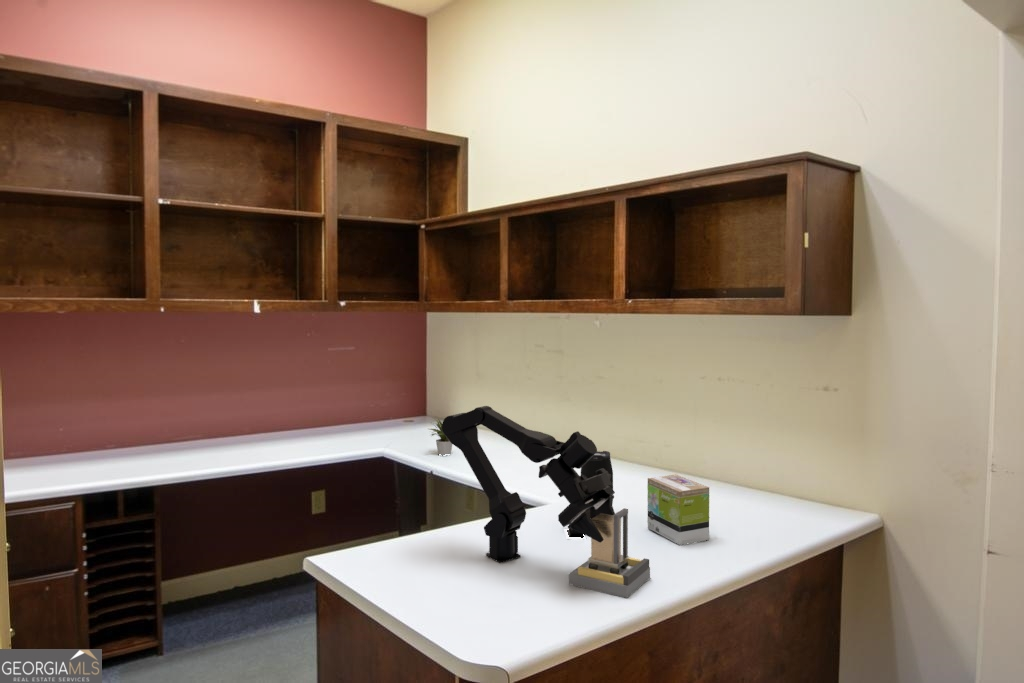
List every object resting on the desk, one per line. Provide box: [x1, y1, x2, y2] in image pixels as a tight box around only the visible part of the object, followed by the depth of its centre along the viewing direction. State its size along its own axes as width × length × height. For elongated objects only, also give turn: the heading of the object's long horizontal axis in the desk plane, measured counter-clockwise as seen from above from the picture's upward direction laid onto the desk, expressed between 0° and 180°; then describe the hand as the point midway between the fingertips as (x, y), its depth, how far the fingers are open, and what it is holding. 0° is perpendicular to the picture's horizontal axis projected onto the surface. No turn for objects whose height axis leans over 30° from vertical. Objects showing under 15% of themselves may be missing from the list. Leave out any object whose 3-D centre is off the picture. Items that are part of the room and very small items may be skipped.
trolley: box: [587, 508, 630, 575], centre depth 159 cm, size 7×6×14 cm
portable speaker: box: [580, 450, 614, 519], centre depth 205 cm, size 9×9×20 cm
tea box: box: [647, 474, 710, 546], centre depth 190 cm, size 15×10×15 cm, turn 23°
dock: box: [568, 556, 651, 599], centre depth 159 cm, size 14×13×4 cm
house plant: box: [428, 418, 453, 455], centre depth 295 cm, size 14×14×16 cm
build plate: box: [567, 523, 584, 538], centre depth 192 cm, size 12×7×5 cm, turn 0°
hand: (611, 535), depth 158 cm, fingers open, 9 cm apart
